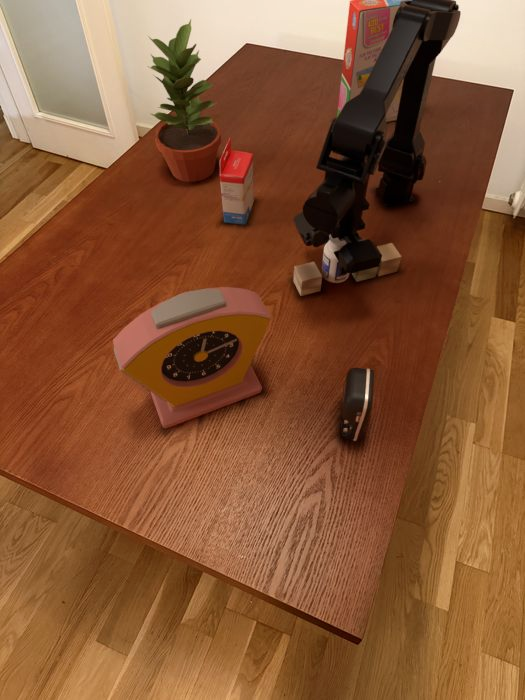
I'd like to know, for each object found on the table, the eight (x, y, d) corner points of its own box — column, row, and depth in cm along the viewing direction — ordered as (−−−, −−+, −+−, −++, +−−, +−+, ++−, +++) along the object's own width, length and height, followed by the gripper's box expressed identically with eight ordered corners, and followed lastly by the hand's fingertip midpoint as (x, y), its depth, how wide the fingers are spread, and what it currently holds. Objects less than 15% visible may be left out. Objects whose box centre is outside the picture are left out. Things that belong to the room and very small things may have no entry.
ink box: (246, 226, 105) (243, 164, 93) (223, 223, 106) (217, 161, 94) (254, 200, 110) (252, 138, 98) (232, 198, 111) (228, 136, 99)
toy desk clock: (147, 436, 77) (112, 356, 59) (131, 389, 82) (95, 302, 64) (277, 387, 82) (280, 300, 64) (255, 345, 87) (252, 254, 69)
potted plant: (148, 181, 114) (116, 38, 90) (179, 145, 123) (157, 5, 98) (207, 196, 111) (190, 52, 87) (235, 158, 119) (226, 17, 95)
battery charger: (339, 400, 80) (348, 360, 71) (362, 404, 80) (375, 364, 71) (335, 440, 76) (344, 402, 67) (360, 444, 76) (372, 407, 67)
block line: (387, 258, 99) (392, 242, 96) (397, 271, 97) (401, 256, 94) (293, 281, 96) (294, 266, 93) (300, 296, 94) (301, 281, 90)
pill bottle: (351, 267, 96) (358, 231, 89) (345, 286, 93) (351, 251, 86) (325, 261, 97) (329, 225, 90) (317, 279, 94) (321, 244, 87)
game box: (407, 106, 132) (435, -14, 110) (417, 117, 129) (448, -5, 107) (335, 120, 129) (349, -2, 107) (343, 132, 126) (360, 8, 103)
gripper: (281, 170, 84) (279, 240, 97) (323, 242, 74) (315, 311, 86) (342, 157, 86) (332, 228, 99) (391, 226, 75) (374, 295, 88)
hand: (337, 263), depth 93 cm, fingers closed on pill bottle, 5 cm apart
